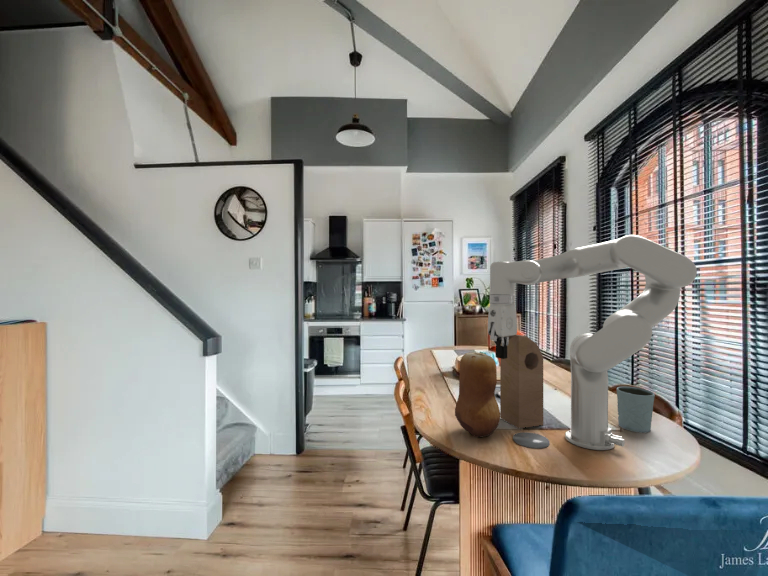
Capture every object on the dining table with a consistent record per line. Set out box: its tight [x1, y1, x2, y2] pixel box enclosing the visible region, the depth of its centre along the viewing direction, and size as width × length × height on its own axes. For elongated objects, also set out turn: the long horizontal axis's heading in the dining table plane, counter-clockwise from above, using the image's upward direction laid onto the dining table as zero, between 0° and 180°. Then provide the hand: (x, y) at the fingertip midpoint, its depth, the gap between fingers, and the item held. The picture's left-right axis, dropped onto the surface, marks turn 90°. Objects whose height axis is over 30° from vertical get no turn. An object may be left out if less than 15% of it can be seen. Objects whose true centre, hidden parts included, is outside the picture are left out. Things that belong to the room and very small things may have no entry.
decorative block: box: [499, 334, 544, 429], centre depth 122 cm, size 10×10×30 cm
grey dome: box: [512, 431, 551, 449], centre depth 107 cm, size 10×10×1 cm
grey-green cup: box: [616, 386, 656, 433], centre depth 117 cm, size 10×10×12 cm
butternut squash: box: [454, 352, 501, 438], centre depth 112 cm, size 14×13×25 cm
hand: (501, 357), depth 115 cm, fingers closed
